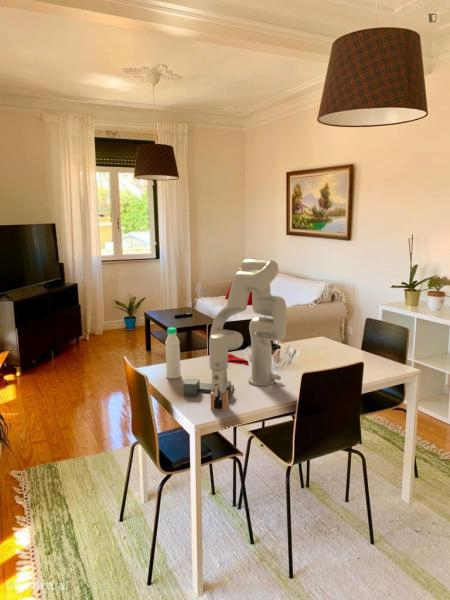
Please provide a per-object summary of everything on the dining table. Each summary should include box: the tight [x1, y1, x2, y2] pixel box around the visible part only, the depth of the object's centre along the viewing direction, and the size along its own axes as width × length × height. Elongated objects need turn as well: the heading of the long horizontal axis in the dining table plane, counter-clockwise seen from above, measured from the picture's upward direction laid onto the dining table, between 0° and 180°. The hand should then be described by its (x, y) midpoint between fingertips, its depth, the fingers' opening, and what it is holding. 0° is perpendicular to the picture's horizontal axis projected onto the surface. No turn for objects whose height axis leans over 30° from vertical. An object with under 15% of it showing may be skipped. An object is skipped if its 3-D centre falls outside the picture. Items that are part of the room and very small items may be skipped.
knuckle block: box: [209, 390, 229, 411], centre depth 190 cm, size 6×5×7 cm
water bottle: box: [164, 327, 182, 380], centre depth 225 cm, size 7×7×25 cm
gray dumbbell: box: [181, 378, 235, 400], centre depth 206 cm, size 22×13×6 cm, turn 79°
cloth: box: [228, 353, 250, 366], centre depth 252 cm, size 26×14×2 cm, turn 22°
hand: (219, 405), depth 190 cm, fingers closed on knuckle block, 5 cm apart
